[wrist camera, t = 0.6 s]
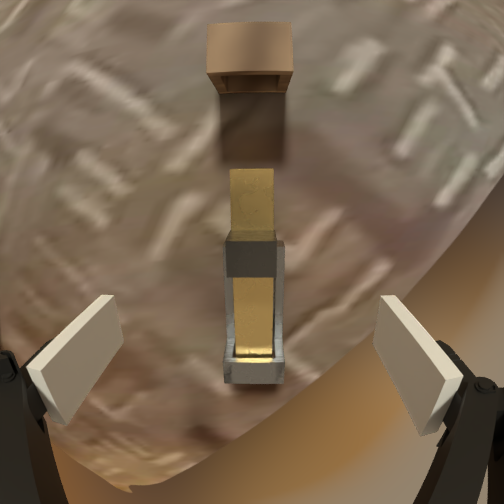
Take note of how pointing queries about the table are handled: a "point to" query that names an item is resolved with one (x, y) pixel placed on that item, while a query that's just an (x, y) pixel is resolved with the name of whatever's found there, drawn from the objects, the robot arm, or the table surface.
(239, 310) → the tan wooden bar
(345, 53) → the table surface
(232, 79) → the socket
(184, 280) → the table surface
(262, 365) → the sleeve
